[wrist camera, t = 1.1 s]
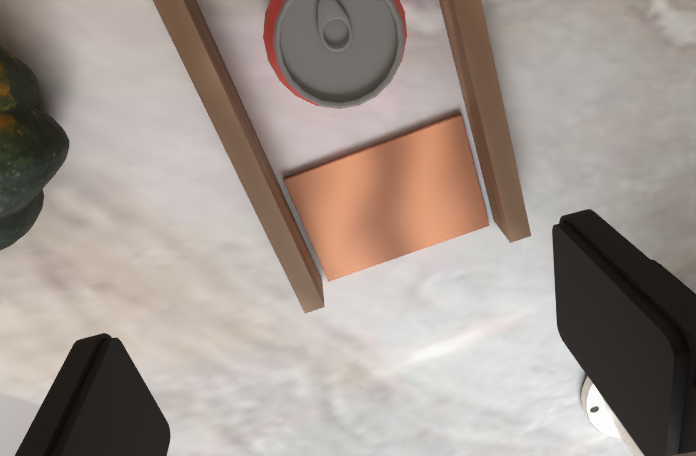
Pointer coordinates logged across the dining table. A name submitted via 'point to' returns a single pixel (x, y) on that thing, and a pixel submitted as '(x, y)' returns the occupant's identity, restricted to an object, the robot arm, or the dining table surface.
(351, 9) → the beer can
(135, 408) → the robot arm
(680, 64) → the dining table surface
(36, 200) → the squash
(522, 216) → the frame
